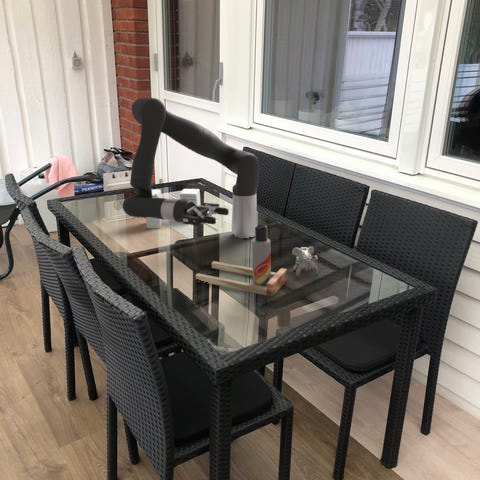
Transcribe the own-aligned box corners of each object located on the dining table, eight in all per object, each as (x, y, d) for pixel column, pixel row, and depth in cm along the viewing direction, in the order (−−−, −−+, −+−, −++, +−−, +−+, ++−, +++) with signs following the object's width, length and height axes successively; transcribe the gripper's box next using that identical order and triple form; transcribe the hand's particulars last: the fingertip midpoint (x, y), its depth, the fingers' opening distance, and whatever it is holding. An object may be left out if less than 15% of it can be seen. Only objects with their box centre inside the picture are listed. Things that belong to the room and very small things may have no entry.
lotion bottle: (269, 289, 158) (269, 229, 150) (251, 288, 159) (250, 228, 151) (271, 281, 163) (271, 222, 156) (254, 280, 164) (253, 222, 157)
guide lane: (214, 266, 175) (213, 255, 173) (287, 280, 163) (287, 269, 162) (196, 280, 165) (195, 269, 163) (272, 296, 153) (272, 284, 152)
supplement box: (185, 215, 225) (183, 188, 220) (201, 216, 224) (200, 188, 219) (181, 221, 218) (179, 193, 213) (198, 222, 217) (196, 193, 212)
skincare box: (150, 222, 218) (146, 188, 213) (164, 221, 218) (161, 188, 213) (146, 229, 210) (143, 194, 205) (161, 228, 210) (157, 194, 205)
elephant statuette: (300, 280, 164) (301, 259, 161) (281, 264, 174) (282, 244, 171) (324, 274, 168) (325, 253, 165) (304, 259, 178) (306, 239, 174)
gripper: (164, 206, 159) (209, 212, 152) (188, 193, 170) (231, 198, 163) (167, 229, 161) (211, 235, 155) (190, 214, 173) (232, 219, 166)
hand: (221, 216), depth 159 cm, fingers open, 8 cm apart
